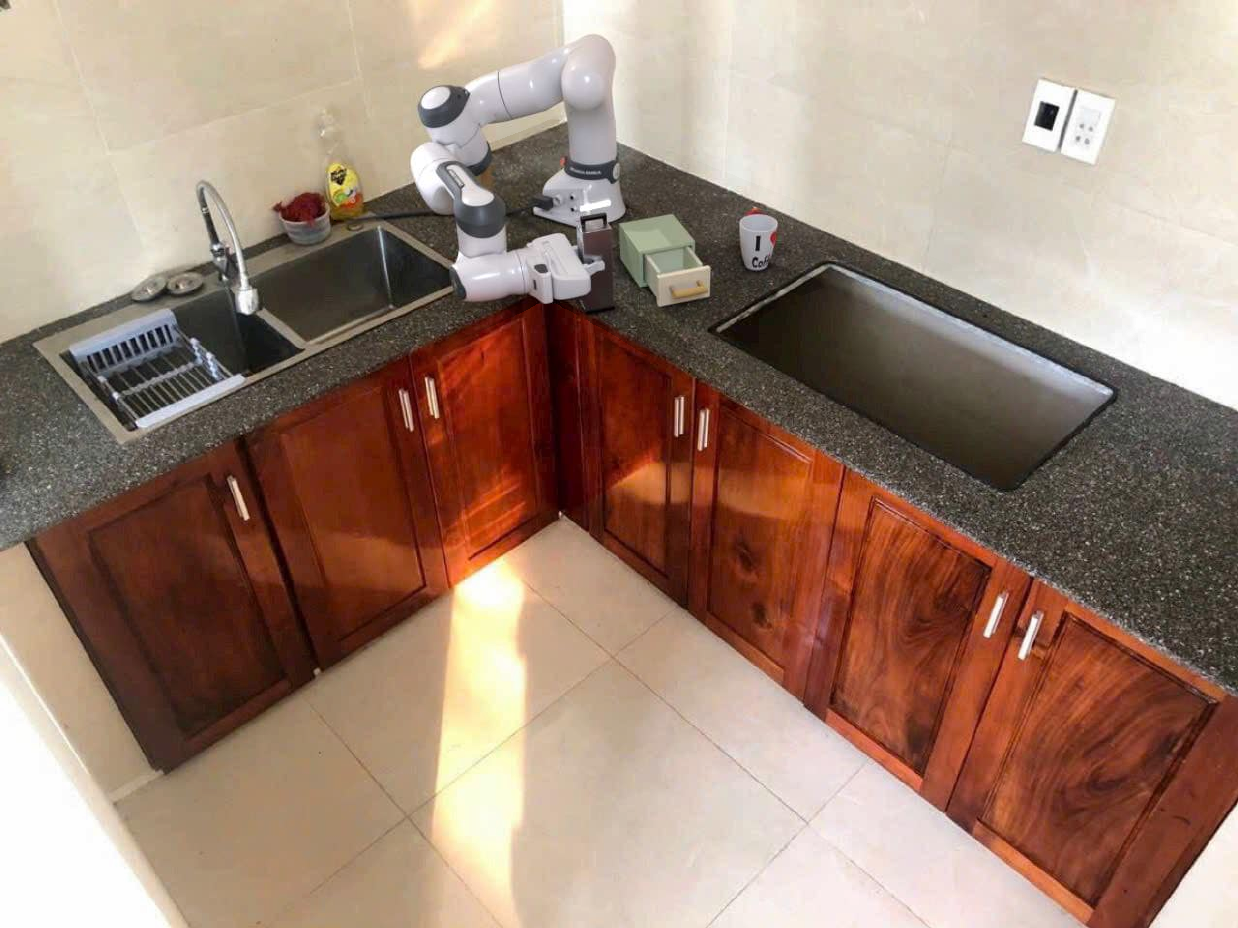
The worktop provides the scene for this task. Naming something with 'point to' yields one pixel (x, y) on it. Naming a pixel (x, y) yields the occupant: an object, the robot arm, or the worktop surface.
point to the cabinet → (650, 241)
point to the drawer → (676, 275)
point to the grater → (595, 246)
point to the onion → (754, 212)
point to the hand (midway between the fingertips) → (599, 257)
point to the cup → (757, 240)
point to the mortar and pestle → (487, 179)
